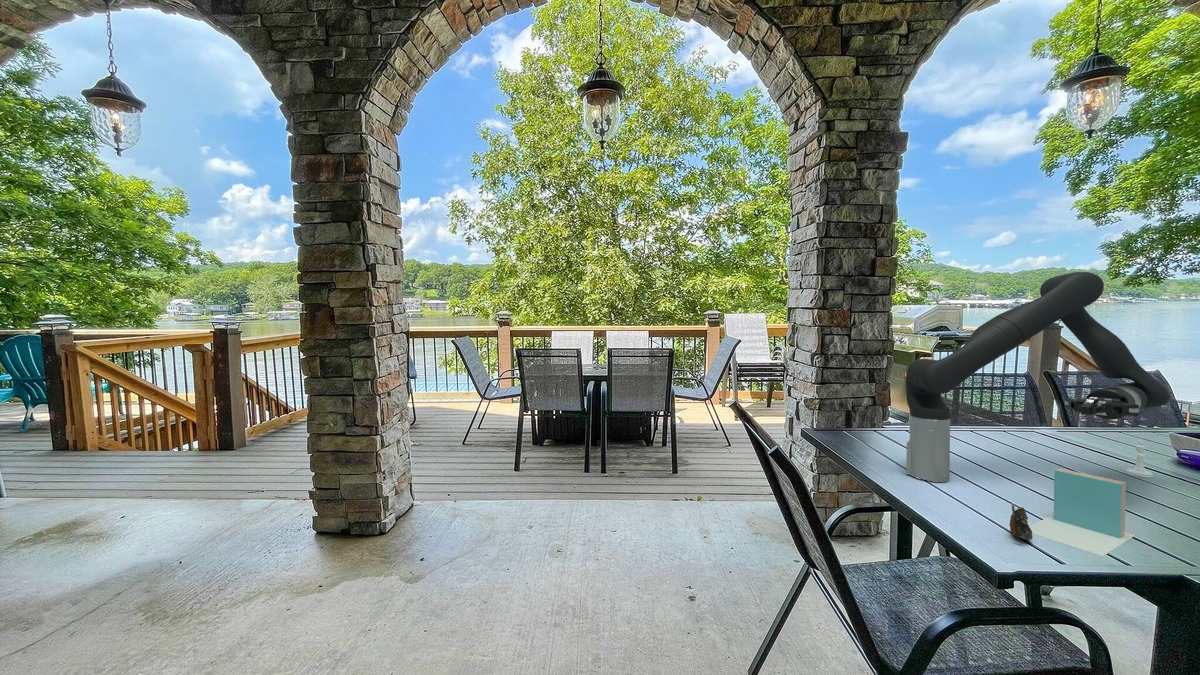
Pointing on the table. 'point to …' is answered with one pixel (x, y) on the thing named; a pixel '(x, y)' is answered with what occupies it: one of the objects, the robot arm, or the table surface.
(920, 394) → the robot arm
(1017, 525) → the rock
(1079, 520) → the tile
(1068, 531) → the mat
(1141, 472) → the chess piece
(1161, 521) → the table surface
